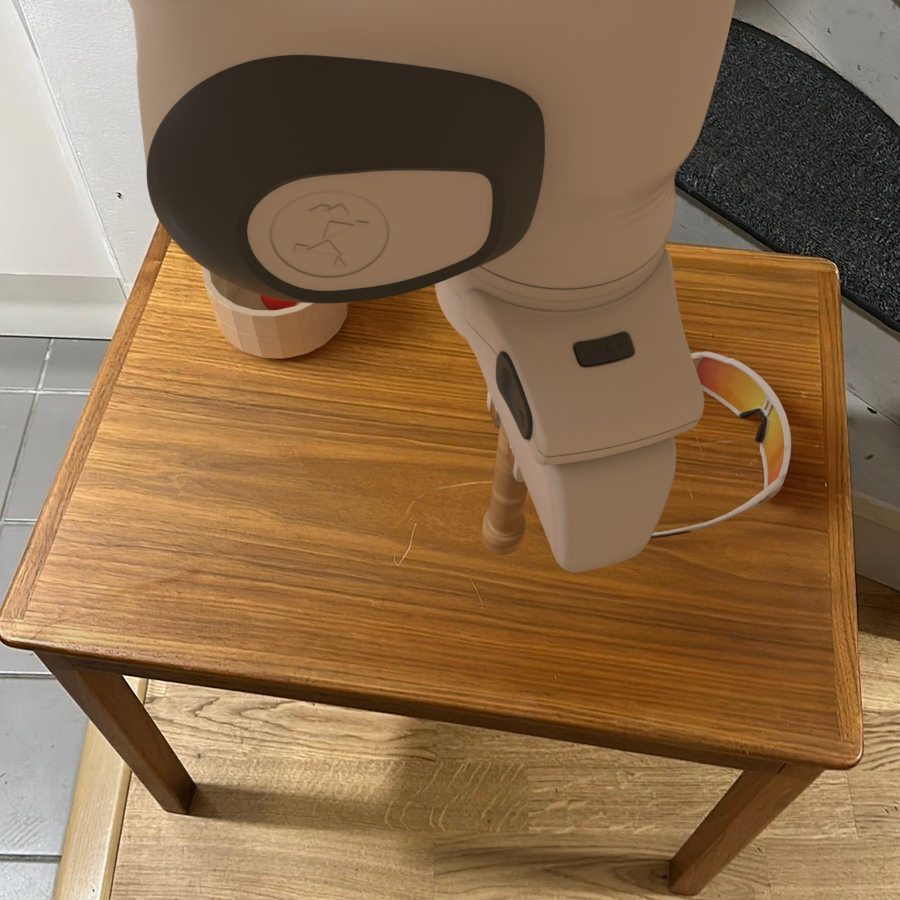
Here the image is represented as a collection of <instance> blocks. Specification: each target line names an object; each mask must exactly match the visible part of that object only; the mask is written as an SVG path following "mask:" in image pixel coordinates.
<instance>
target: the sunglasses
mask: <svg viewBox="0 0 900 900" xmlns="http://www.w3.org/2000/svg"><path fill="white" fill-rule="evenodd" d="M690 353H691V356H692V359H693V362H694V365H695V368H696V371H697V374H698V377H699V380H700V383H701V386H702V390H703V393H706V394H708V395H710V396H711V397H713V398H714V399H715V400H716V401H718V402H720V403H721V404H722V405H724V406H725V407H726V408H728V409H729V410H730V411H731V412H733V413H734V414H735V415H736V416H737V417H739V418H740V419H747V418H749V417H752V416H753V415H755V414H758V416H759V418H760V419H761V421H760V425H759V426H758V429H757V431H756V434H755V438H754V441H755V442H756V443H758V444H759V452H760V457H761V461H762V466H763V477H764V478H763V479H764V483H763V489H762V490H761V491H760V492H758V493H757V494H756V495H755V496H754V497H752V498H751V499H749V500H747V501H746V502H745V503H744V504H742V505H740V506H738V507H736V508H734V509H733V510H731V511H730V512H727V513H726V514H724V515H720V516H718V517H716V518H713V519H711V520H708V521H705V522H701V523H696V524H693V525H688V526H685V527H680V528H675V529H669V530H662V531H654V532H653V534H652V536H651V538H650V540H652V539H660V538H667V537H672V536H679V535H684V534H689V533H692V532H697V531H700V530H704V529H708V528H710V527H713V526H715V525H718V524H720V523H722V522H724V521H727V520H731V519H732V518H734V517H737V516H739V515H741V514H742V515H743V514H744V513H746V512H748V511H750V510H752V509H754V508H757V507H759V506H760V505H762V504H764V502H766V501H769V500H770V499H772V498H773V497H775V496H776V495H777V494H778V493H779V492H780V491H781V489H782V486H783V485H784V482H785V478H786V476H787V474H788V469H789V464H790V461H791V453H792V435H791V433H792V432H791V427H790V425H789V420H788V417H787V413H786V410H785V409H784V407H783V405H782V402H781V400H780V399H779V397H778V396H777V394H776V392H775V391H774V390H773V388H772V387H771V386H770V385H769V384H768V383H767V382H766V381H765V379H764V378H763V377H761V375H759V374H758V373H757V372H756V371H755V370H753V369H752V368H750V367H749V366H747V365H746V364H744V363H743V362H741V361H739V360H737V359H735V358H733V357H728V356H725V355H722V354H719V353H715V352H712V351H695V352H690Z"/></svg>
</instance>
